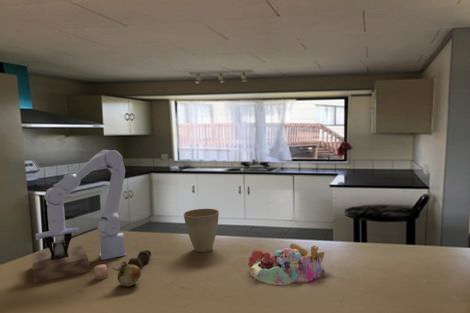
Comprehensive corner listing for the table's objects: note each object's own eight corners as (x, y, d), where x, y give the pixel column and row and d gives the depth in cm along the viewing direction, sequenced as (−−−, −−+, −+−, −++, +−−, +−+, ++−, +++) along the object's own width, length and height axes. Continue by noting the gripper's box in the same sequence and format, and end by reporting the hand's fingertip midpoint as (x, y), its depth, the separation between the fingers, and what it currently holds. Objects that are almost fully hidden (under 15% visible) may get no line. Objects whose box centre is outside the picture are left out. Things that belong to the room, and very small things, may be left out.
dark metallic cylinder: (65, 260, 139) (63, 240, 138) (66, 263, 136) (65, 242, 135) (53, 262, 137) (52, 242, 136) (54, 266, 134) (53, 245, 133)
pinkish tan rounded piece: (104, 274, 130) (103, 263, 130) (109, 276, 127) (108, 265, 127) (93, 278, 127) (92, 267, 127) (98, 280, 124) (96, 269, 124)
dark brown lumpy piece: (149, 262, 145) (136, 276, 130) (139, 256, 145) (124, 269, 130) (156, 250, 145) (143, 262, 130) (145, 244, 145) (131, 256, 130)
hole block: (83, 257, 149) (82, 245, 149) (89, 271, 133) (88, 258, 133) (33, 266, 140) (32, 254, 140) (33, 283, 125) (32, 269, 124)
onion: (128, 291, 115) (127, 267, 114) (112, 287, 119) (110, 263, 118) (146, 282, 121) (144, 259, 120) (130, 278, 125) (128, 256, 125)
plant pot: (201, 241, 163) (199, 207, 162) (227, 246, 154) (225, 210, 153) (178, 251, 151) (175, 214, 150) (204, 257, 142) (202, 218, 141)
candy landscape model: (282, 254, 143) (282, 232, 142) (336, 269, 126) (335, 244, 125) (238, 274, 126) (237, 248, 125) (293, 294, 109) (292, 265, 108)
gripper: (34, 225, 128) (37, 262, 129) (78, 218, 135) (81, 253, 136) (34, 221, 135) (37, 256, 136) (76, 215, 142) (79, 248, 143)
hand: (59, 254), depth 136 cm, fingers closed on dark metallic cylinder, 4 cm apart
